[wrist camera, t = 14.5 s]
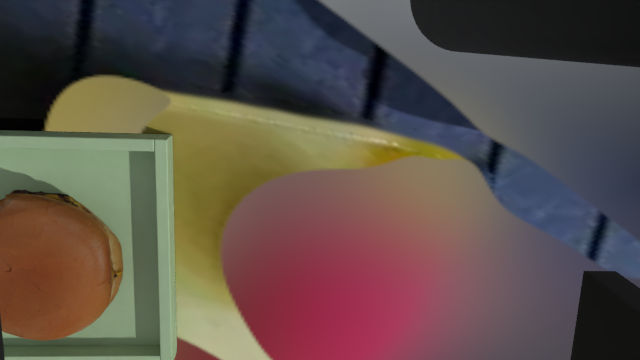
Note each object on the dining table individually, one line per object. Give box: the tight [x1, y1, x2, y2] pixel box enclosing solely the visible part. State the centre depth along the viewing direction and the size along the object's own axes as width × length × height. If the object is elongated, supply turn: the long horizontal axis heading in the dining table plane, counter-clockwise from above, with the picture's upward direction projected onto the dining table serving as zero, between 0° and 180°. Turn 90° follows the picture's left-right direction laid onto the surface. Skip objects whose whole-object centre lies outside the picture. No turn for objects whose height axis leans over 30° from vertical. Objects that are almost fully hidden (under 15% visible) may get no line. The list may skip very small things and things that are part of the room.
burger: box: [0, 190, 123, 341], centre depth 37 cm, size 10×9×5 cm
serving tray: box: [0, 130, 177, 360], centre depth 39 cm, size 16×16×2 cm
